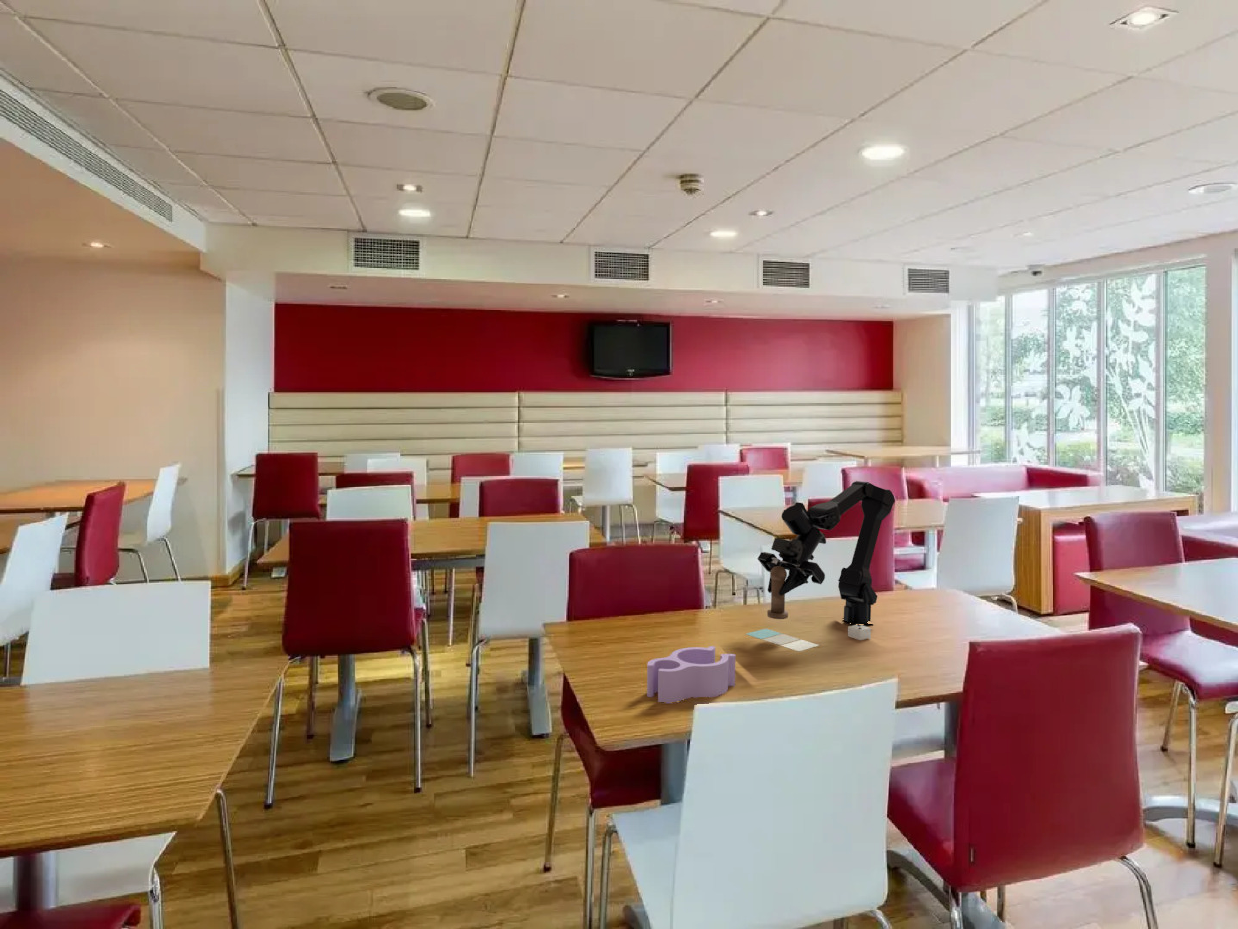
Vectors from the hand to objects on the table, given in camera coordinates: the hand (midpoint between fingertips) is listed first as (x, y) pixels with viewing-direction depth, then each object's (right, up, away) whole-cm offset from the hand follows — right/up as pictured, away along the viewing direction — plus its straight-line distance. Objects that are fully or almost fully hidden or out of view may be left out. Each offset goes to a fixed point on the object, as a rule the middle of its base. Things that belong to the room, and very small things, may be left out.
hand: (774, 593), depth 190 cm
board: (+2, -13, +1) cm, 14 cm away
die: (+23, -13, +4) cm, 27 cm away
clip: (-24, -16, -29) cm, 41 cm away
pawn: (+1, -6, +1) cm, 6 cm away
